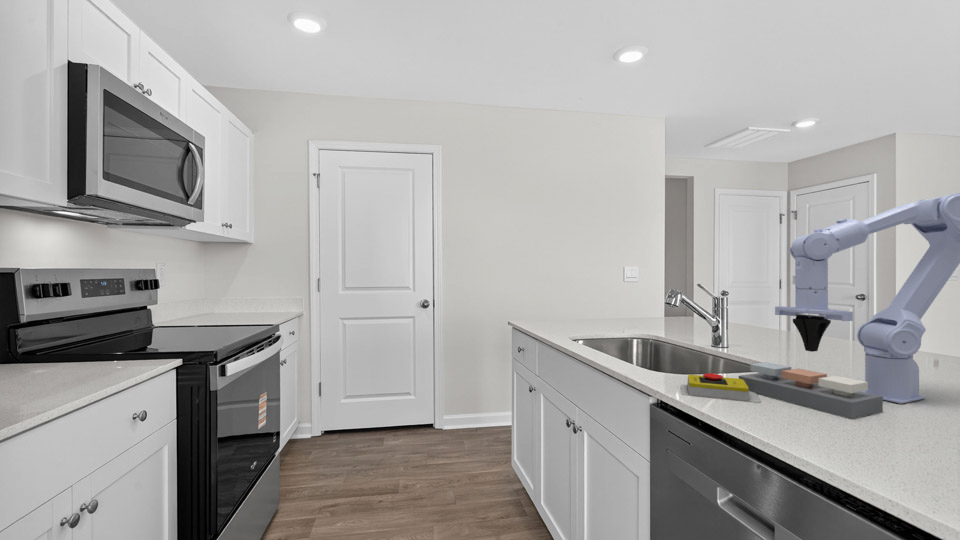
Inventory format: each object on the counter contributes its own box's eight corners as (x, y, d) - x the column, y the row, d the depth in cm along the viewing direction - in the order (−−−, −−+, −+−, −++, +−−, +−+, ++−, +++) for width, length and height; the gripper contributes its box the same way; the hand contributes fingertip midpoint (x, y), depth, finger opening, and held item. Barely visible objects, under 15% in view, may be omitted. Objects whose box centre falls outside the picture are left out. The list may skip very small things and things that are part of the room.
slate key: (766, 381, 101) (766, 362, 101) (791, 386, 96) (791, 367, 96) (750, 383, 99) (750, 364, 99) (775, 389, 94) (774, 369, 94)
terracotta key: (798, 388, 95) (798, 368, 95) (826, 395, 90) (826, 373, 90) (782, 391, 93) (782, 370, 93) (810, 398, 88) (810, 376, 88)
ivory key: (835, 397, 88) (835, 375, 88) (868, 405, 83) (867, 382, 83) (818, 400, 86) (818, 378, 86) (851, 408, 81) (851, 385, 81)
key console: (767, 384, 103) (767, 371, 103) (882, 412, 83) (882, 396, 83) (738, 388, 99) (738, 375, 99) (851, 419, 79) (851, 402, 79)
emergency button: (680, 368, 103) (754, 374, 97) (680, 386, 103) (754, 393, 97) (681, 377, 95) (762, 384, 89) (681, 397, 95) (762, 405, 89)
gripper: (766, 287, 101) (766, 346, 101) (838, 290, 87) (838, 358, 87) (786, 287, 103) (786, 344, 103) (858, 289, 90) (858, 355, 90)
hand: (811, 350), depth 95 cm, fingers closed
